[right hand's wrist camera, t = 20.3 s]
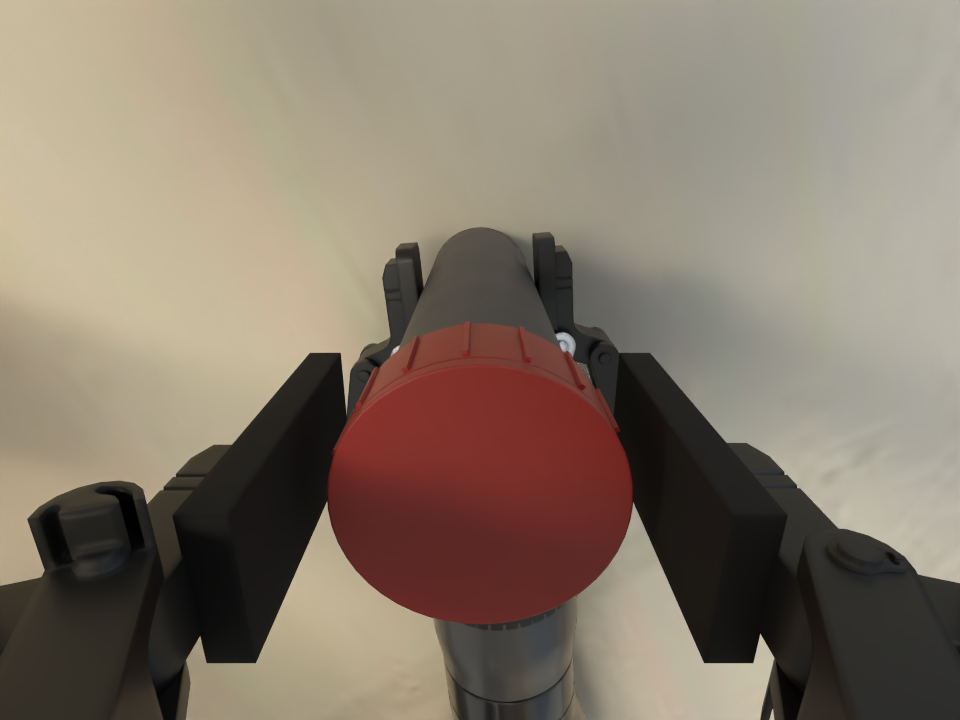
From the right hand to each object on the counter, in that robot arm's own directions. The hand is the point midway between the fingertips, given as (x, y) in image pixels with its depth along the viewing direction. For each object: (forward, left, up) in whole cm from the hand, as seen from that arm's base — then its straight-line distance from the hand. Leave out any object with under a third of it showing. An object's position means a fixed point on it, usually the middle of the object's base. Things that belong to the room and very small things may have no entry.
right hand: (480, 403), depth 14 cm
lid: (0, 0, +4) cm, 4 cm away
